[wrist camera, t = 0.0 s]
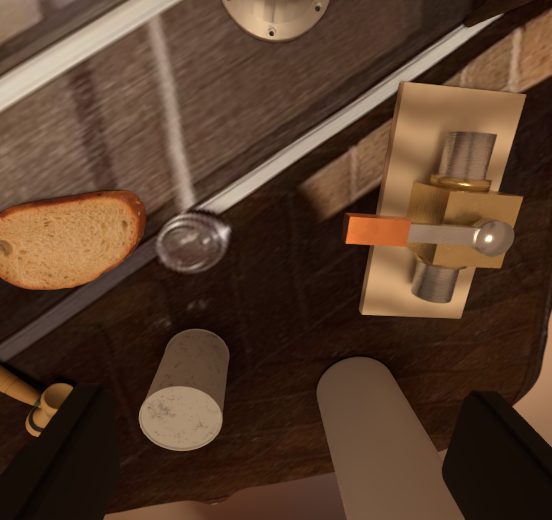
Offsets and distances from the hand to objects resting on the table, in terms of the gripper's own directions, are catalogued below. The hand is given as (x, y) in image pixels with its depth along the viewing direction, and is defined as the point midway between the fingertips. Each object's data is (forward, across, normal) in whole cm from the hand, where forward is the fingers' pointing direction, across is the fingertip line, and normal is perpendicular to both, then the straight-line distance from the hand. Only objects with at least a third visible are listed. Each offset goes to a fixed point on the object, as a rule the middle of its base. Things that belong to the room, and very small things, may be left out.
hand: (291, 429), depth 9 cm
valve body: (+35, -23, 0) cm, 42 cm away
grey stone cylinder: (+37, +8, +24) cm, 45 cm away
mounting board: (+37, -23, 0) cm, 43 cm away
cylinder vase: (+37, -17, +29) cm, 50 cm away
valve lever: (+25, -16, 0) cm, 30 cm away
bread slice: (+37, +25, +6) cm, 45 cm away
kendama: (+37, +30, +31) cm, 57 cm away
